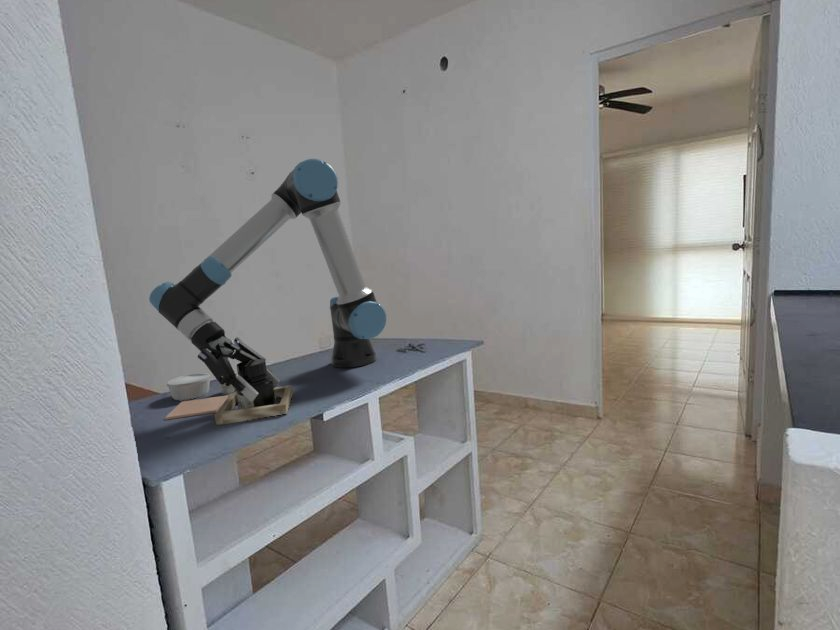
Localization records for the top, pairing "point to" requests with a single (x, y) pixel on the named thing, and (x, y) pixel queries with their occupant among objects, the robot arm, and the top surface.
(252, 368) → the ink bottle
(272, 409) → the birch collar
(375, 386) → the top surface
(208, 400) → the terracotta tile
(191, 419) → the top surface
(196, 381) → the ramekin
